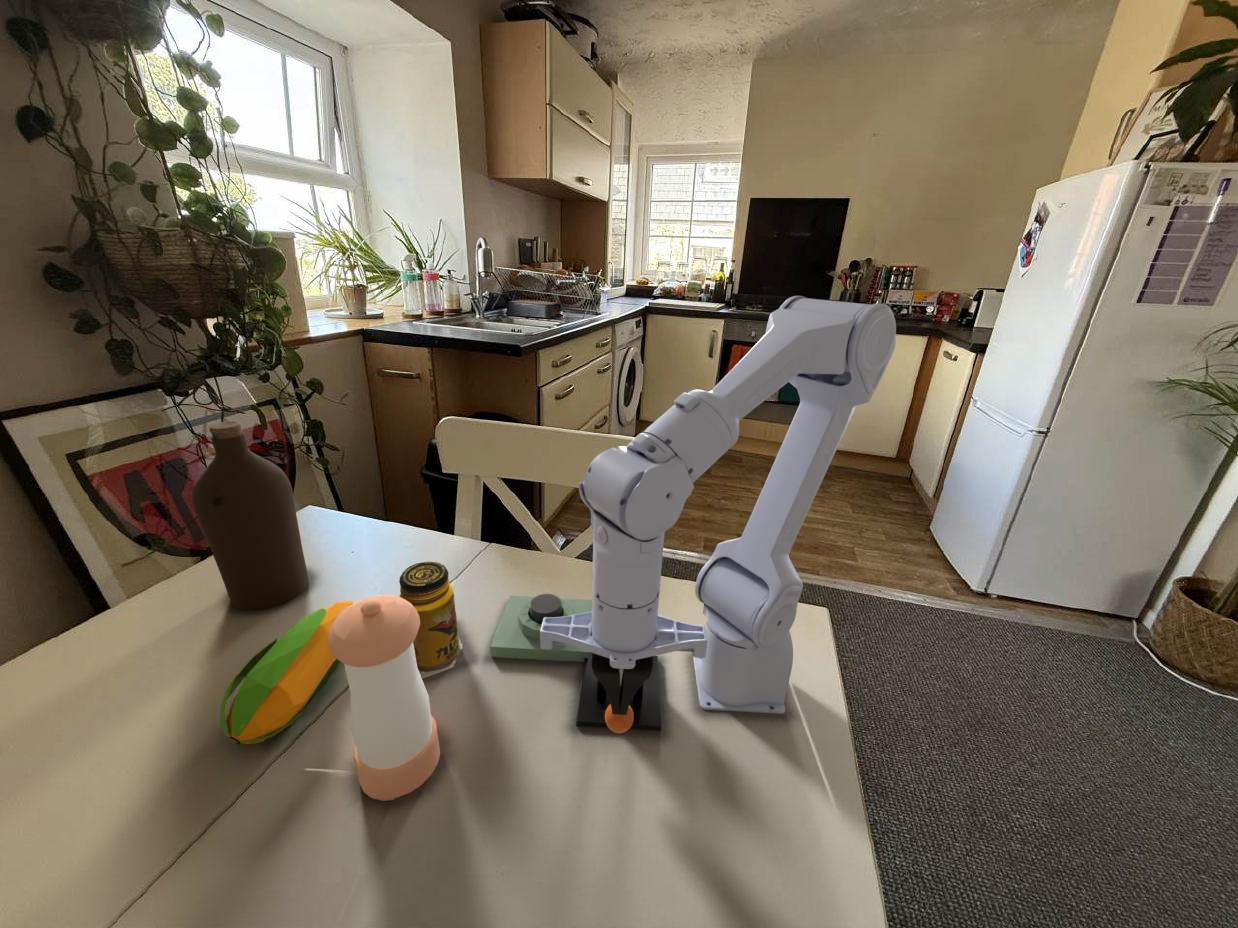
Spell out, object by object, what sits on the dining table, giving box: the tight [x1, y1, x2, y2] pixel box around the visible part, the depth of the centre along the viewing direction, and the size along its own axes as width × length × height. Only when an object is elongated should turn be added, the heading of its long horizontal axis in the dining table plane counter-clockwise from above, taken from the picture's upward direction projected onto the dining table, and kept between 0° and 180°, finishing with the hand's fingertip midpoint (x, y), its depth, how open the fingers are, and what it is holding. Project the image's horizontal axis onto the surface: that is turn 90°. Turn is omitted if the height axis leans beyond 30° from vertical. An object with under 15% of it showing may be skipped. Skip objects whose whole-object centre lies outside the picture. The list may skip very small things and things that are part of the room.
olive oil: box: [191, 421, 309, 611], centre depth 67 cm, size 11×11×25 cm
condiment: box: [398, 561, 464, 680], centre depth 59 cm, size 7×8×12 cm
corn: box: [219, 600, 354, 745], centre depth 55 cm, size 7×8×20 cm
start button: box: [530, 593, 562, 624], centre depth 64 cm, size 4×4×2 cm
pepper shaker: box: [328, 594, 441, 802], centre depth 44 cm, size 7×7×19 cm
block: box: [489, 595, 592, 663], centre depth 65 cm, size 12×10×4 cm
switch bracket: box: [575, 652, 662, 732], centre depth 56 cm, size 10×9×8 cm
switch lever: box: [605, 669, 634, 734], centre depth 51 cm, size 11×3×3 cm, turn 178°
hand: (619, 705), depth 47 cm, fingers closed
